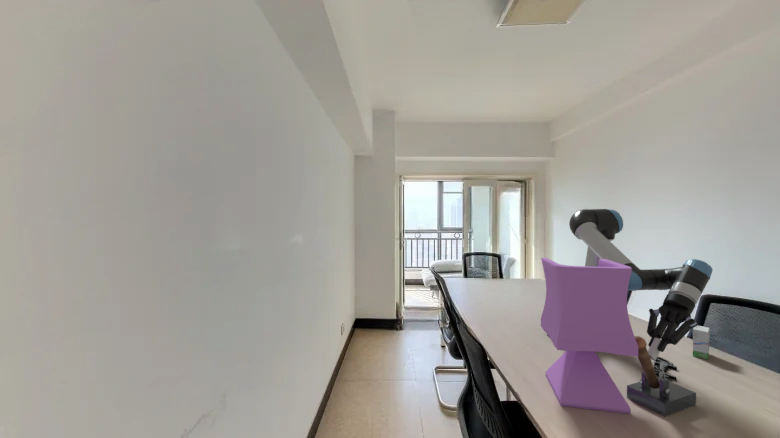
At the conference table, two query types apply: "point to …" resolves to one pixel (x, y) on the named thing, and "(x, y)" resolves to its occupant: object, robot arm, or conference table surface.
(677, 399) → the press base
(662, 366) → the nameplate
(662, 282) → the robot arm
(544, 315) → the purple pedestal vase
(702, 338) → the ink box
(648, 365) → the lever
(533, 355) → the conference table surface
